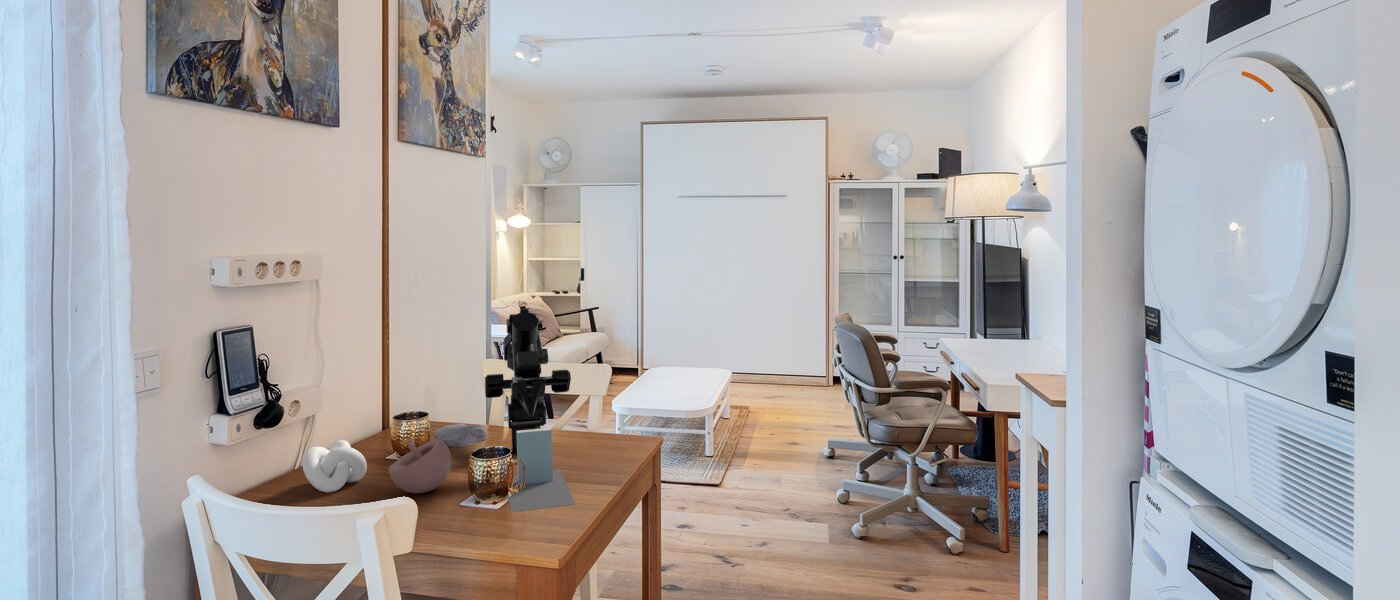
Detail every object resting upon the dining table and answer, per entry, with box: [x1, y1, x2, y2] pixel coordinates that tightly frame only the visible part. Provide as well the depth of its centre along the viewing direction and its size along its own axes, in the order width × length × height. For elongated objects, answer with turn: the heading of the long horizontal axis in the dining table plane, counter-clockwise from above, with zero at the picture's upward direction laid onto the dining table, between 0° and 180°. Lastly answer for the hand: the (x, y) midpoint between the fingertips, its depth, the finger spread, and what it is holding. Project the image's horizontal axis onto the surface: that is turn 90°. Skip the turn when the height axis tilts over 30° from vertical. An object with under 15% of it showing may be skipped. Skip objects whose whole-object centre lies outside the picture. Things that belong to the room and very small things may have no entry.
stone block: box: [433, 422, 487, 448], centre depth 181 cm, size 12×5×10 cm
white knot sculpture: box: [301, 439, 368, 493], centre depth 148 cm, size 11×12×9 cm
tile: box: [516, 427, 553, 485], centre depth 147 cm, size 2×7×11 cm, turn 108°
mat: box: [507, 469, 576, 513], centre depth 143 cm, size 22×12×1 cm, turn 18°
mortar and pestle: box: [388, 437, 452, 494], centre depth 143 cm, size 12×12×11 cm
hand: (531, 415), depth 153 cm, fingers closed
